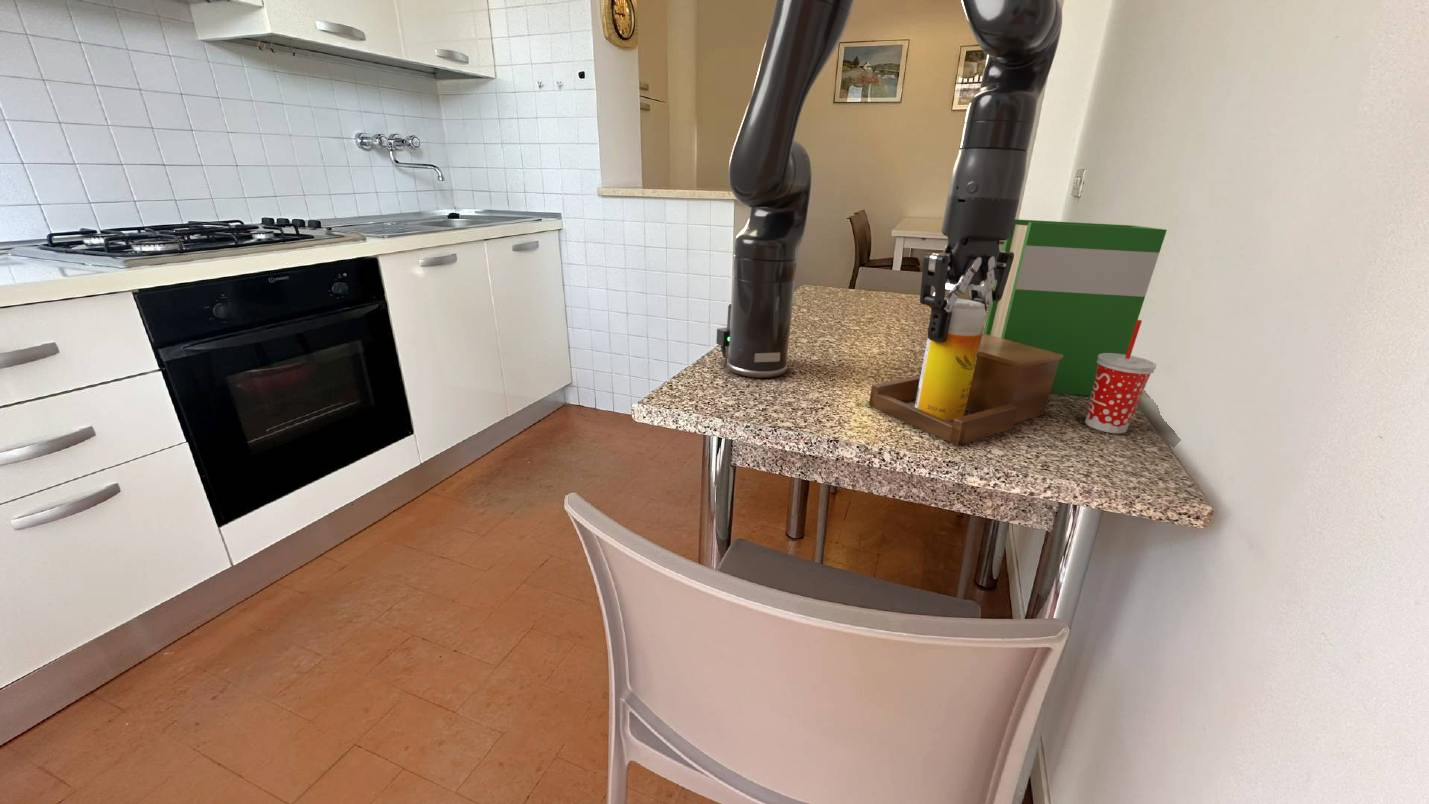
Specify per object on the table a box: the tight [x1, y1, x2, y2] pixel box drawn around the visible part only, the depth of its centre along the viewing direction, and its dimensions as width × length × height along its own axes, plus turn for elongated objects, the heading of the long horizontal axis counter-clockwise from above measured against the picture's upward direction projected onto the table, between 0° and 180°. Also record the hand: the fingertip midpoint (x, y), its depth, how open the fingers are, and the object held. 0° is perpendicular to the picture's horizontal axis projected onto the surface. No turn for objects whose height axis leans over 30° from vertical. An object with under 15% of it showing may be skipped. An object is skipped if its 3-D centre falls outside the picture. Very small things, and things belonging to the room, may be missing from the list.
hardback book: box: [983, 218, 1168, 396], centre depth 85 cm, size 18×7×24 cm, turn 86°
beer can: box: [914, 297, 988, 423], centre depth 72 cm, size 6×6×15 cm
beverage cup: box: [1084, 319, 1157, 434], centre depth 72 cm, size 6×6×14 cm
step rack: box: [868, 332, 1063, 447], centre depth 75 cm, size 14×20×8 cm
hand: (954, 337), depth 71 cm, fingers closed on beer can, 6 cm apart
